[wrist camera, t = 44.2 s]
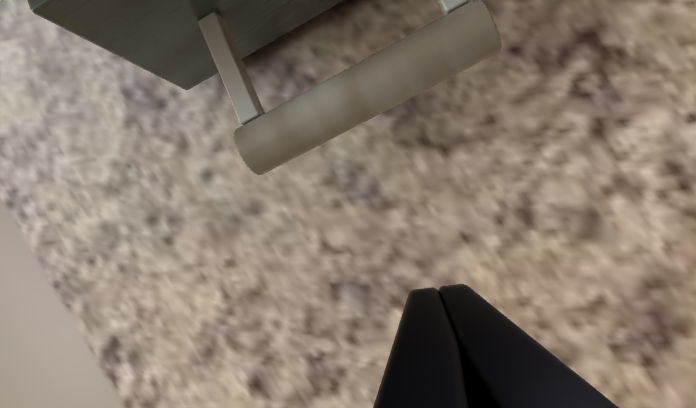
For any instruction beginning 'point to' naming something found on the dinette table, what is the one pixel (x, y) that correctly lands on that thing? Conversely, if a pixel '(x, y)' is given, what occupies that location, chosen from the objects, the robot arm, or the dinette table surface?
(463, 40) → the drawer
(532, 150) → the dinette table surface
